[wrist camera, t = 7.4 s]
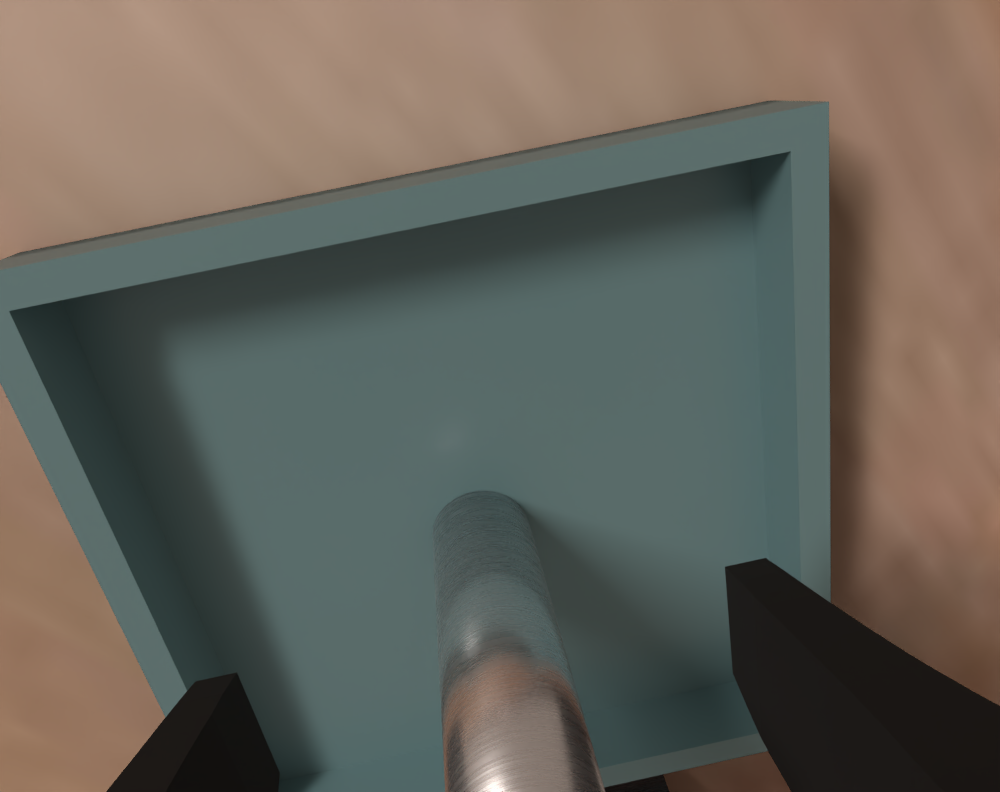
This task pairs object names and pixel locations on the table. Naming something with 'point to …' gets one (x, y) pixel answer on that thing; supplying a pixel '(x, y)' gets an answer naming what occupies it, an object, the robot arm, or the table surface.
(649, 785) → the block
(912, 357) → the table surface
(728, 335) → the tray
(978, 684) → the table surface
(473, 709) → the steel pin
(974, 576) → the table surface
